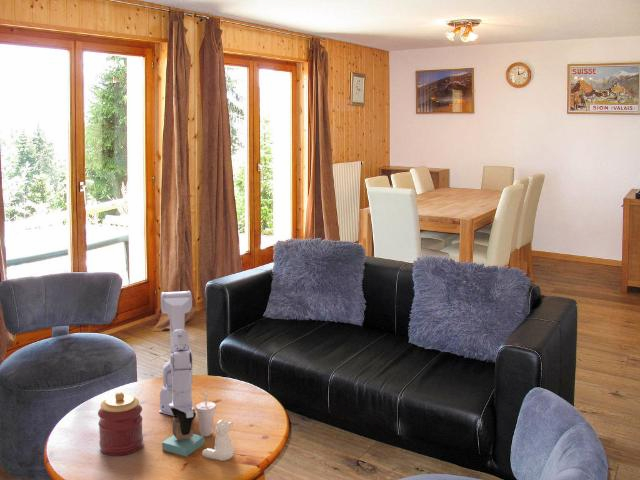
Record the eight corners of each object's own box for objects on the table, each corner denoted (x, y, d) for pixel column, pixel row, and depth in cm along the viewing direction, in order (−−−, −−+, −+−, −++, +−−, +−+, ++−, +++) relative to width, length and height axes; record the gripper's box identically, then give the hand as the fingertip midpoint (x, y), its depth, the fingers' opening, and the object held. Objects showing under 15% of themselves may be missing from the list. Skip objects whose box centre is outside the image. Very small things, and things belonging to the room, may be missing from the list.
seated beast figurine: (227, 445, 208) (226, 409, 206) (243, 456, 202) (243, 419, 199) (201, 455, 202) (200, 418, 199) (217, 466, 195) (216, 428, 193)
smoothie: (199, 439, 211) (198, 398, 209) (193, 431, 217) (192, 390, 214) (218, 435, 214) (218, 394, 212) (212, 427, 220) (211, 387, 217)
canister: (93, 444, 208) (90, 390, 204) (133, 432, 215) (131, 381, 212) (108, 461, 198) (106, 405, 194) (150, 448, 205) (148, 394, 202)
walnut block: (172, 433, 207) (172, 418, 206) (187, 430, 209) (187, 415, 208) (177, 440, 203) (177, 424, 202) (192, 436, 205) (192, 421, 204)
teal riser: (162, 449, 205) (162, 442, 204) (180, 437, 213) (180, 430, 212) (186, 456, 201) (186, 448, 200) (204, 443, 209) (203, 436, 208)
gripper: (161, 383, 207) (163, 423, 210) (176, 400, 195) (177, 443, 198) (183, 378, 211) (184, 419, 213) (199, 395, 199) (200, 438, 201)
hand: (182, 430), depth 206 cm, fingers closed on walnut block, 5 cm apart
